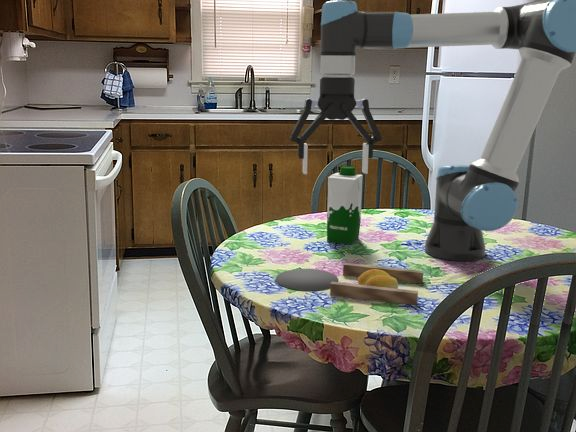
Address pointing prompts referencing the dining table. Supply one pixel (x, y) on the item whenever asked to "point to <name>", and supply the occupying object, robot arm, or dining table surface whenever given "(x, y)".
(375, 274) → the bread roll
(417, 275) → the chute
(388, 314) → the dining table surface
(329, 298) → the dining table surface
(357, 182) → the milk carton
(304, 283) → the mat
